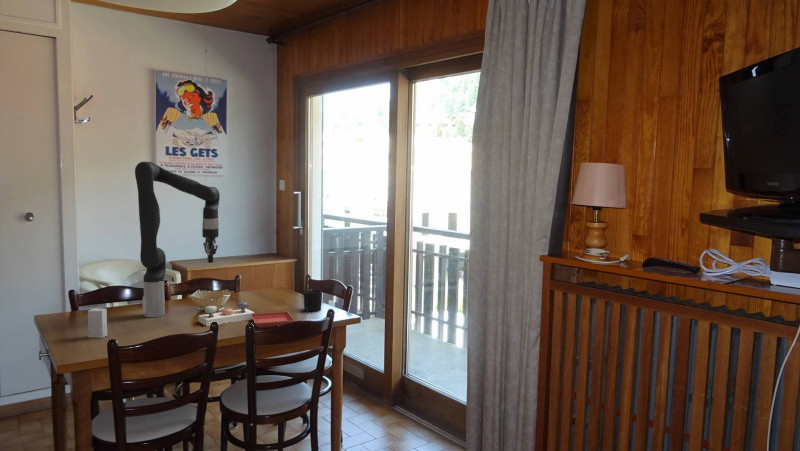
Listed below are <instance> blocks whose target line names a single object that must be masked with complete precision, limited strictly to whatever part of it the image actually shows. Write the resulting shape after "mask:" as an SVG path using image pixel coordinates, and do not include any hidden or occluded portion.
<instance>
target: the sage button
mask: <svg viewBox="0 0 800 451" xmlns="http://www.w3.org/2000/svg"><path fill="white" fill-rule="evenodd" d="M217 311H218V308H217V306H216V305H209V306H208V305H207V306H205V307H204V312H205V313H207V314H209V317H213V313H217Z"/></svg>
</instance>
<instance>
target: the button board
mask: <svg viewBox="0 0 800 451" xmlns="http://www.w3.org/2000/svg"><path fill="white" fill-rule="evenodd" d="M251 314H256V313H255V312H254V311H252V310H251V309H248V308H245V312H243V313H241V308H239V309H233V314H230V315H223V314H222V311H221V312H213V317H209V313H207V314H201V315H198V323H200V324H201V325H203V324H204V326H205V325H206V326H205V327H211V326H210V325H211V323H212V322H218V323H219V324H218V325H224V324H223V323H225V324H230V323H229V322H231V323H236V321H237V322H242V321H243V320H244V321H249V320H253V318H252V316H251Z"/></svg>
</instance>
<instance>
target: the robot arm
mask: <svg viewBox="0 0 800 451" xmlns="http://www.w3.org/2000/svg"><path fill="white" fill-rule="evenodd" d="M134 176H135V181H136V186H137V194H138V195H137V198H138V218H139V219H138V220H139V232H140V256H139V257H140V258H139V259H140V263H141V264H142V265H143V267H144V268H146V271H145V273H144V275H143V296H142V316H143V317H145V318H157V317H162V316H165V312H166V311H165V276H166V268H167V257H166V254H165V252H164V250H163V249H162V248H160V247H158V246H157V243H158V242H157V238H158V233H159V230H160V225H161V211H160V210H161V209H160V205H159V202H158V199H157V197H156V194H155V189H154V182H158V183H162V184H165V185H168V186H170V187H172V188H174V189H176V190H178V191H179V192H183V193H185V194H187V195H188V194H189V195H192V196H194V197H196V198H198V199H201V200H203V201H205V202H204V207H203V209H202V224H201V228H202V229H201V230H202V231H201V232H202V233H201V234H202V238H205V241H204V242H203V248H204V252H205V253H206V255H207V263H209V264H212V263H214V255H216V253H217V249H218V247H219V246H218V244H217V243H216V242H217V241H216V239H217V238H218V237H219V236H220V235H219V232H220V231H219V224H220V223H219V205H220V199H221V198H220V197H221V196H220V195H221V194H220V191H219V189H218V188H217V187H215V186H207V185H205V184H202V183H200V182H199V181H197V180H194V179H191V178H188V177H185V176H182V175H179V174H177V173H174V172H171V171H169V170H167V169H165V168H163V167H161V166H160V165H157V164H156V163H154V162H152V161H140V162H139V163H137V165H136V166H135V167H134Z"/></svg>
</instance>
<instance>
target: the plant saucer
mask: <svg viewBox="0 0 800 451" xmlns="http://www.w3.org/2000/svg"><path fill="white" fill-rule="evenodd" d="M251 316H252V318H253V319H252V320H253V322H254V324H255V326H256V327H257V328H258V329H262V328H275V326H278V325H282V324H286V323H290V322H292V323H293V322H294V321H295V319H294V318H293V317H292V315H291V314H290V313H289V311H278V312H266V313H265V312H262V313H255V314H251Z"/></svg>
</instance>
